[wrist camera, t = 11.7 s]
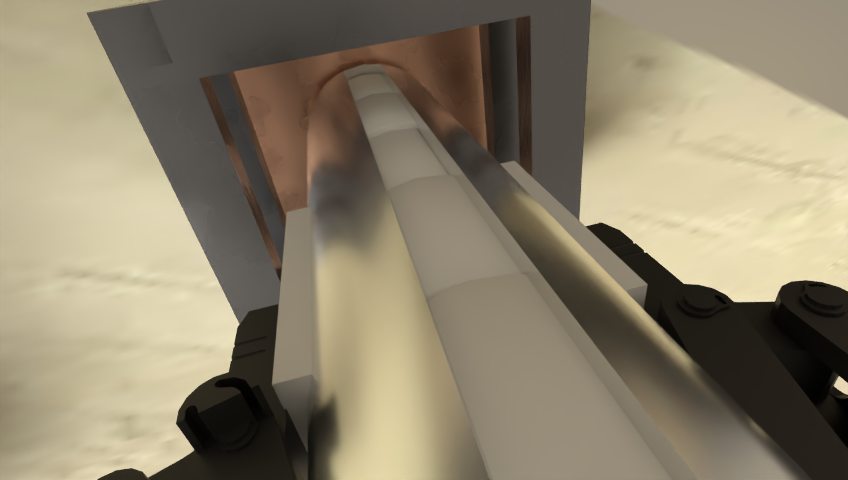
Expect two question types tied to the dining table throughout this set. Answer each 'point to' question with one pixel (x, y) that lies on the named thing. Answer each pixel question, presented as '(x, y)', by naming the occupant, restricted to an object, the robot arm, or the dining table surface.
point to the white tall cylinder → (483, 321)
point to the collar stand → (305, 77)
